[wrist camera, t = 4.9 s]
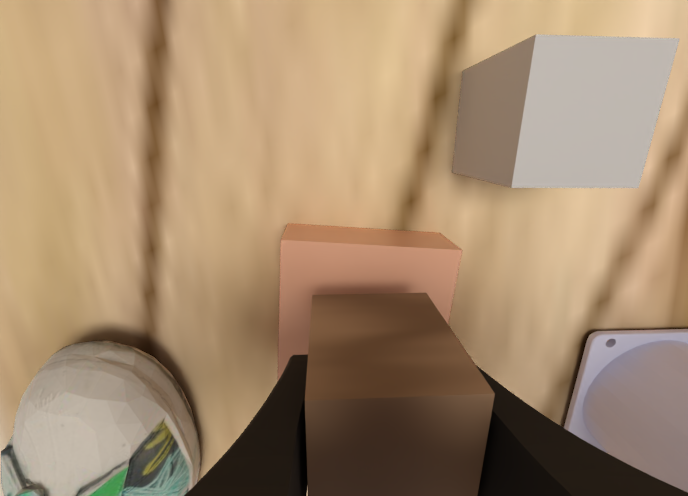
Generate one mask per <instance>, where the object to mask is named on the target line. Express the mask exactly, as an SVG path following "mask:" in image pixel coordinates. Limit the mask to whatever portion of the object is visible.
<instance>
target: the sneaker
mask: <svg viewBox="0 0 688 496" xmlns="http://www.w3.org/2000/svg"><path fill="white" fill-rule="evenodd" d="M200 465H201V460H200V448H199V441H198V432H197V430H196V427H195V422H194V418H193V413H192V411H191V408H190V406H189V404H188V401H187V399H186V397H185V395H184V393H183V391H182V389H181V387H180V386H179V384H178V383H177V381H176V380H175V378H174V377H173V375H172V374H171V373H170V372H169V371H168V370H167V369H166V368H165V367H164V366H163V365H162V364H161V363H160V362H159V361H157V360H156V359H155V358H154V357H153V356H151V355H149V354H147V353H145V352H143V351H141V350H139V349H138V348H136V347H132V346H128V345H124V344H120V343H116V342H112V341H108V340H100V341H91V342H84V343H77V344H72V345H69V346H66V347H63V348H62V349H60V350H59V351H58V352H56V353H55V354H53V355H52V356H51V357H50V358H49V359H48V361H47V362H46V363H45V364H44V365H43V366H42V367H41V368H40V370H39V371H38V373H37V374H36V375H35V377H34V378H33V380H32V381H31V383H30V385H29V386H28V388H27V389H26V391H25V393H24V394H23V396H22V399H21V402H20V405H19V408H18V411H17V414H16V417H15V424H14V432H13V436H12V437H11V439H10V441H9V442H8V444H7V446H6V448H5V449H4V450H2V451H1V484H2V488H3V493H4V496H184V495H185V494H186V493H187V492H188V491H189V490H191V489H192V488H193V487H194V486H195V485H196V484H197V480H198V475H199V470H200Z"/></svg>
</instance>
